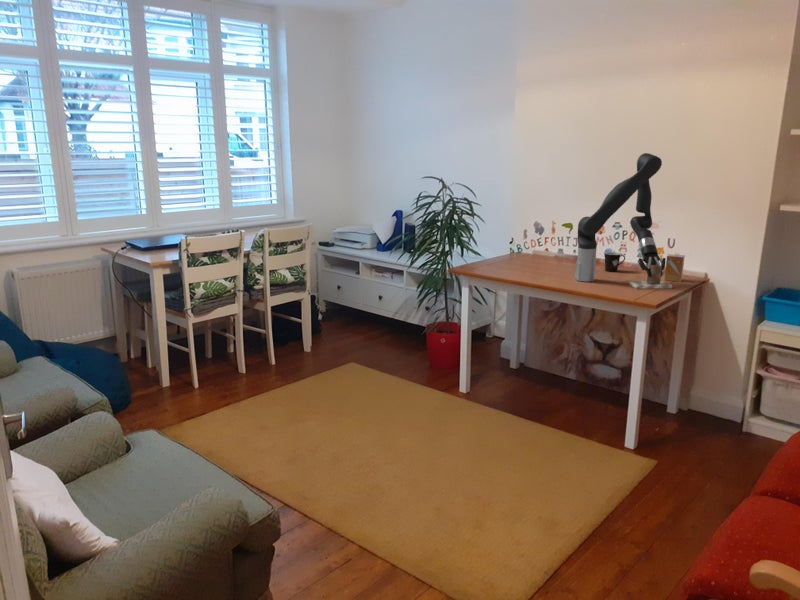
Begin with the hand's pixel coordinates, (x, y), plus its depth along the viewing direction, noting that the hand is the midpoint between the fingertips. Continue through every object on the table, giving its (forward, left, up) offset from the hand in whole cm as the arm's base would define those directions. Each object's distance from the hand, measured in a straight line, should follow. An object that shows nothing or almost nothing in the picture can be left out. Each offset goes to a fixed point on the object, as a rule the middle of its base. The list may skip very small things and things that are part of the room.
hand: (655, 276), depth 310 cm
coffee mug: (-7, +40, -6) cm, 41 cm away
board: (-2, +2, -6) cm, 6 cm away
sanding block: (0, +2, -4) cm, 4 cm away
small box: (+16, +16, -6) cm, 23 cm away
